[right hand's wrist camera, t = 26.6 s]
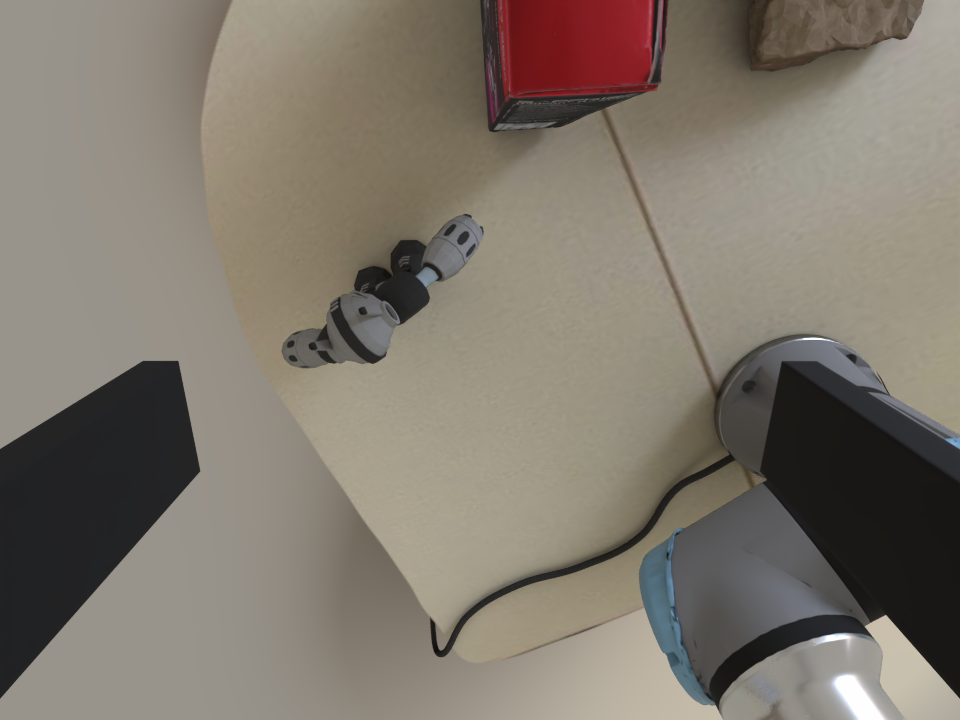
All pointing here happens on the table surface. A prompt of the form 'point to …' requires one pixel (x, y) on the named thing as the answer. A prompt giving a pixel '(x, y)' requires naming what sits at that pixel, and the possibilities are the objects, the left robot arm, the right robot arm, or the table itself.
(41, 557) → the right robot arm
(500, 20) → the graphics card box
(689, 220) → the table surface
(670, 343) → the table surface
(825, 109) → the table surface
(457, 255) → the robot
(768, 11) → the stone
